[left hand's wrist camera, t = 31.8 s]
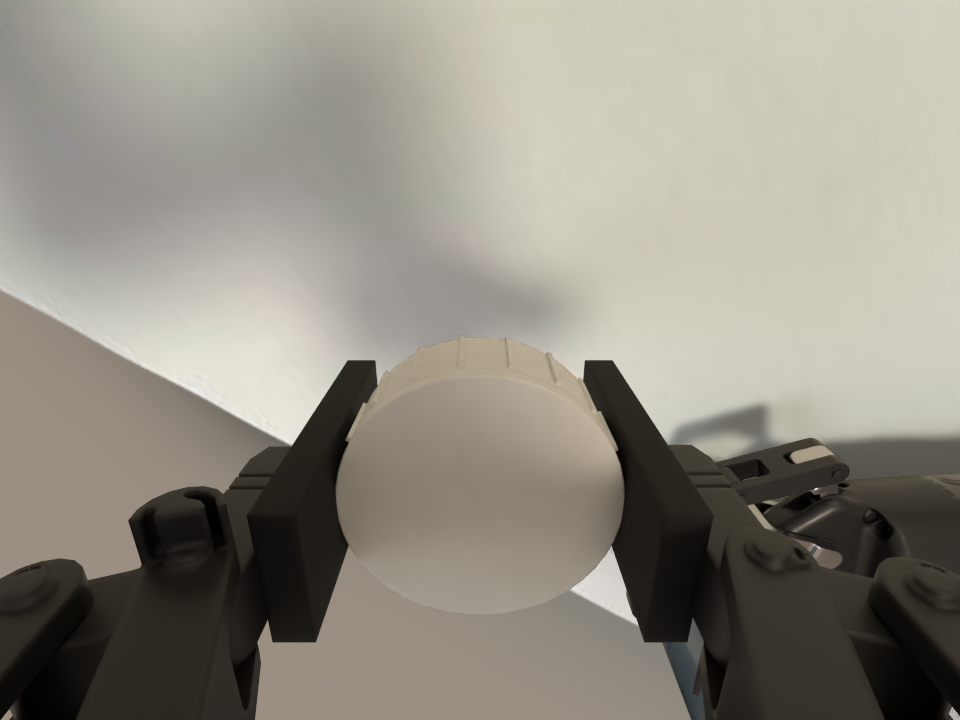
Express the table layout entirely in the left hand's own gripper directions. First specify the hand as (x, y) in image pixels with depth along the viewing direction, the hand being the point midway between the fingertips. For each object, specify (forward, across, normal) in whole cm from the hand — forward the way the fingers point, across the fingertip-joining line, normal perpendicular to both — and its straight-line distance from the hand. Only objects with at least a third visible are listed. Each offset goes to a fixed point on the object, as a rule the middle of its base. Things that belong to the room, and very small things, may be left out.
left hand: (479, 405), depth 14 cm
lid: (-4, 0, 0) cm, 4 cm away
